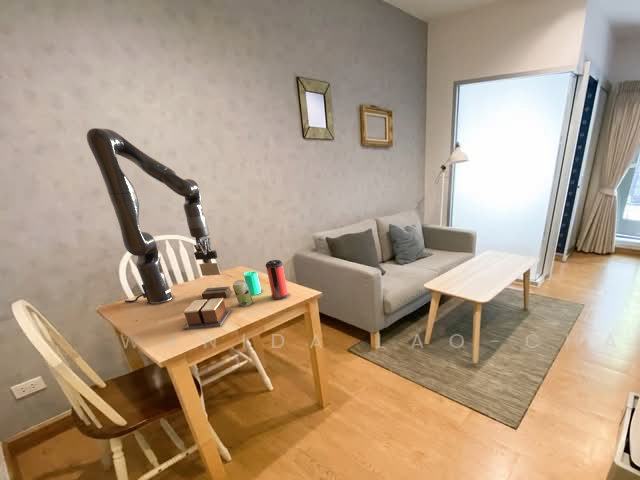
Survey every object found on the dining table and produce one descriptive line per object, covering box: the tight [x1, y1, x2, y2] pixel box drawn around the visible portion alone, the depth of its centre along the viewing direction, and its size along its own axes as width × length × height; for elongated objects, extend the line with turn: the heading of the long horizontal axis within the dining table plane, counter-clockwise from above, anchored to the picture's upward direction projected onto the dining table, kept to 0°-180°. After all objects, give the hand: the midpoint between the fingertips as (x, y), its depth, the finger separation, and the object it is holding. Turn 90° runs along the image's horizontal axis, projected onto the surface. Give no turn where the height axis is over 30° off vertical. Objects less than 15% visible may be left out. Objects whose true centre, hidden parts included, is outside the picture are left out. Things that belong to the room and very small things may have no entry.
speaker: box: [265, 259, 289, 300], centre depth 160 cm, size 8×8×18 cm
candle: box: [243, 270, 262, 296], centre depth 166 cm, size 6×6×12 cm
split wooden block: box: [183, 298, 231, 330], centre depth 141 cm, size 14×14×7 cm
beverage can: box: [232, 279, 253, 307], centre depth 153 cm, size 6×7×12 cm
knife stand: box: [201, 286, 232, 300], centre depth 166 cm, size 11×8×3 cm
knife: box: [193, 249, 221, 277], centre depth 159 cm, size 9×2×12 cm, turn 99°
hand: (207, 261), depth 159 cm, fingers closed on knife, 2 cm apart
